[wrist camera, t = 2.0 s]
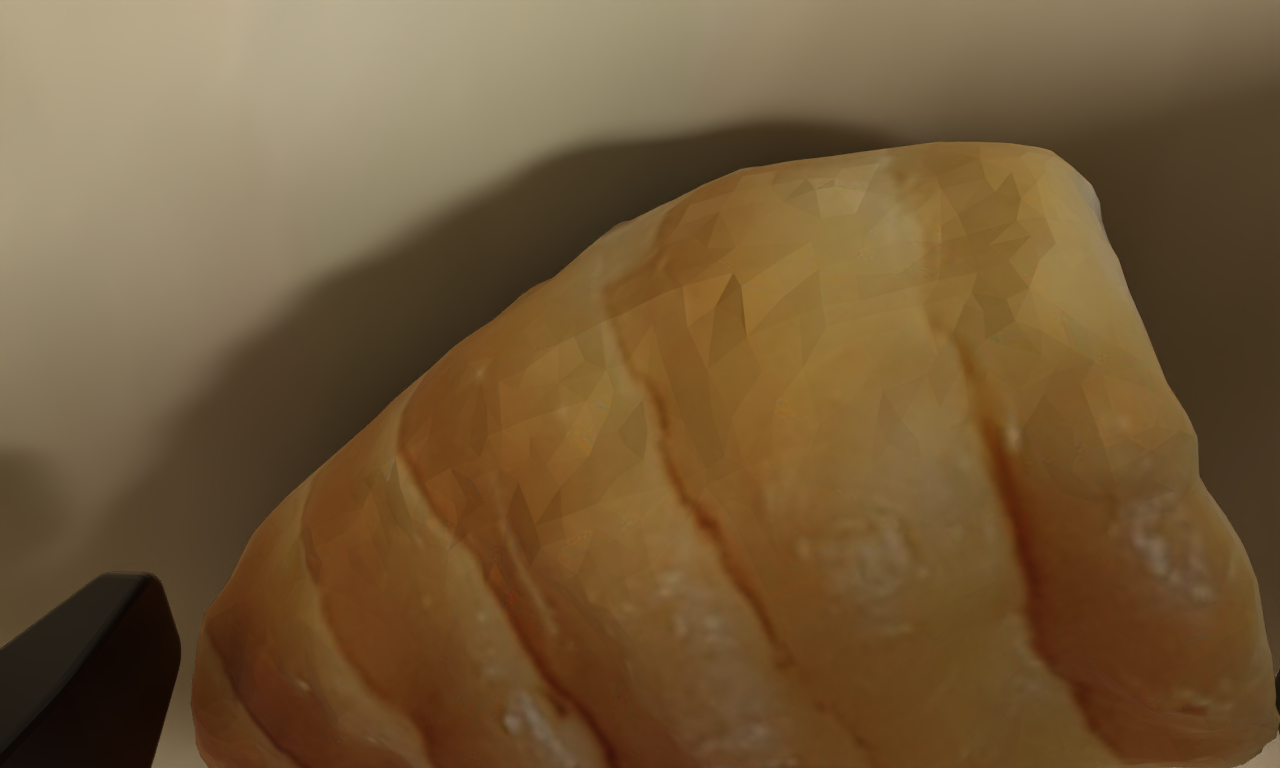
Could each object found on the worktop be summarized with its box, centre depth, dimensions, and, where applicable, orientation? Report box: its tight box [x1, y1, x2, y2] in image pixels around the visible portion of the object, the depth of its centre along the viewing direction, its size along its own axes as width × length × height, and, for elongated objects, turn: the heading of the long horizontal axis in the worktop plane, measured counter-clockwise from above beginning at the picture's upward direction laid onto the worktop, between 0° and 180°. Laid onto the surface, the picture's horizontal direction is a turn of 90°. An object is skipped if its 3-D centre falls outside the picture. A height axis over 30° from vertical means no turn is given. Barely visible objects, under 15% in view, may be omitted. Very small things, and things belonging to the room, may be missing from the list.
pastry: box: [191, 142, 1280, 768], centre depth 10 cm, size 9×7×4 cm
